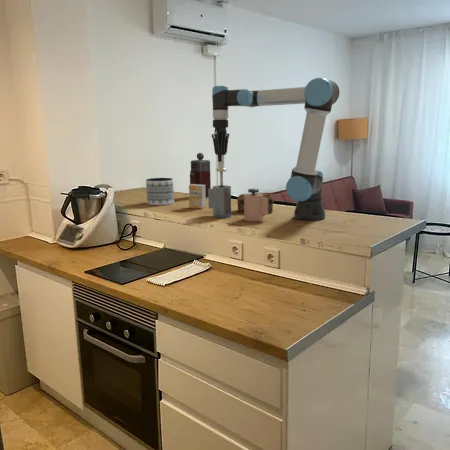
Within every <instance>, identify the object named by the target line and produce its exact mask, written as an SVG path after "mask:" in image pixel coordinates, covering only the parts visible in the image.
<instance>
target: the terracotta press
mask: <svg viewBox="0 0 450 450" xmlns="http://www.w3.org/2000/svg"><path fill="white" fill-rule="evenodd" d="M244 194H245V195H244V213H243V219H244V221H247V222H261V221H263V220H264V215H265V216H268V215H269V213H268V198H264V197H263V194H255V196H252V193H244Z"/></svg>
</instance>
